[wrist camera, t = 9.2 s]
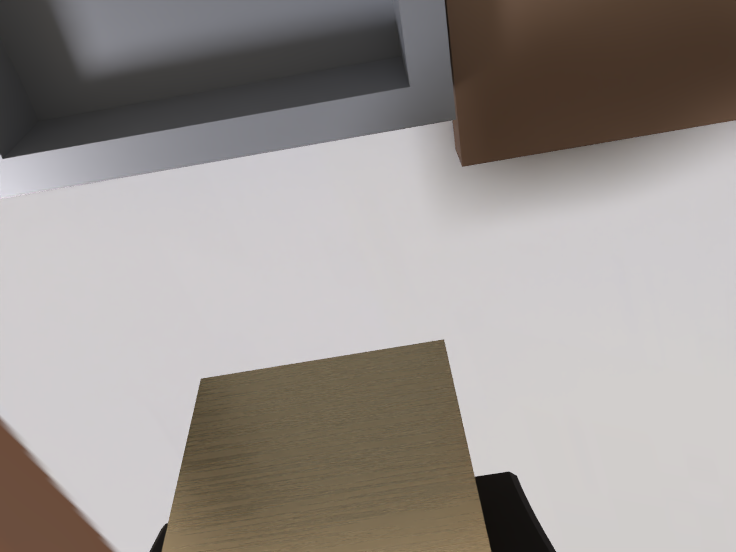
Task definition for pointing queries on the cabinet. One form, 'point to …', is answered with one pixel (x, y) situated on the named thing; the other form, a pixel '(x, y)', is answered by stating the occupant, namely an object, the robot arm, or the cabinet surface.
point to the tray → (206, 81)
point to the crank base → (585, 72)
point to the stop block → (330, 460)
